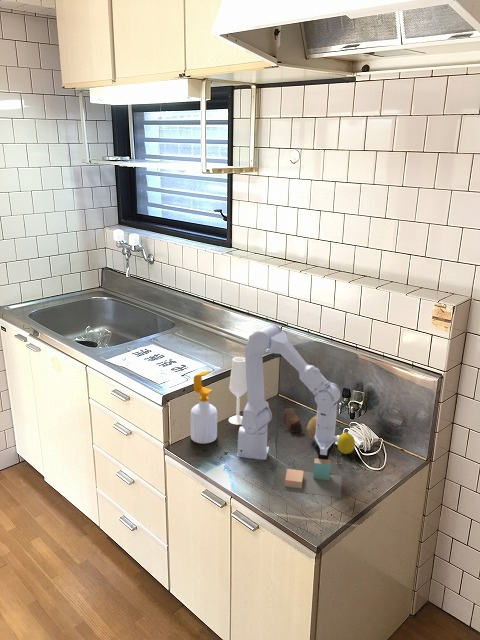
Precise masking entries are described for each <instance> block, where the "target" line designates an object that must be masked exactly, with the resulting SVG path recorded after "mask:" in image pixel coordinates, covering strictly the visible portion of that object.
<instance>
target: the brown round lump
mask: <svg viewBox="0 0 480 640" xmlns="http://www.w3.org/2000/svg"><path fill="white" fill-rule="evenodd" d="M316 420H317V414H316V415H314V416H312V418H310V420H308V423H307V426H306V432H307V435H309V436H310V438H311V439H312V441H314V442H315V433H316Z"/></svg>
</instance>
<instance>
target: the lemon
mask: <svg viewBox="0 0 480 640" xmlns="http://www.w3.org/2000/svg"><path fill="white" fill-rule="evenodd" d="M355 445H356V444H355V438H354V436H353V435H352V434H351V433H349V432H343V433H341V434H340V435H339V437H338V442H337V448H338V451H339V452H340V453H342V454H344V455H347V454H348V455H349V454H351V453H352V452H353V451H354V449H355Z"/></svg>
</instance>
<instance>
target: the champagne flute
mask: <svg viewBox="0 0 480 640" xmlns="http://www.w3.org/2000/svg"><path fill="white" fill-rule="evenodd" d="M228 388H229V391H230V392H231V393H232V394H233V395H234V396H235V397H236V405H235V406H236V407H235V408H236V409H235V412H236V413H235V415H233V416H230V417H229V418H228V422H229V423H230V424H233V425H242V418H243V415H240V412H241V411H240V405H241V397H242V396H243V395H245V394H246V393H247V381H246V365H245V357H243V356H235V357H233V358H232V361H231V369H230V379H229V386H228Z"/></svg>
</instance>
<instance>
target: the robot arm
mask: <svg viewBox="0 0 480 640" xmlns="http://www.w3.org/2000/svg"><path fill="white" fill-rule="evenodd" d="M266 351H268V353H269V354H277V355H280V356H282V357H283V358H284V359H285V360H286V361H287V362H288V363H289V364H290V365H291V366H292V367H293V368H294V369H295V370H296V371H297V372H298V374H299V376H298V378H299V380H300V381H301V382H302V383H303V385H305V386H306V387H307V388H308V390H309V391H310V393H312V394H313V395H314V401H315V404H316V405H317V407H316V415H317V420H316V433H315V441H314V448H315V450H316V453H317V459H326V460H329V457H330V455H331V454H332V451H333V450H334V448H335V447H334V446H335V445H334V444H335V442H337V443H338V439H339V437H338V436H336V435H335V434H336V426H337V425H336V423H337V415H338V414H337V413H338V409H337V408H338V401H339V400H340V399H341V396H342V393H341V392H342V391H341V389H340V387H339V386H338V384H336V383H335V382H330V380H328V379H326V377H325V376H324V375H323V374H322V373H321V370H320V369H319V368H318V367H316V366H315V365H314V364H313V365H311V364H308V363H307V362H306V360H304V358H303V357H302V355H300V353H299V352H298V351H297V349H296V348H295V347H294V346H293V344H292V343H291V342H290V340H289V339H288V335H287V333H286V332H285V331H284V330H282V327H280V326H279V324H276V323H270V324H268V325H266V326H265V327H263V328H261V329H260V330H256V331H254V332H253V333H252V334H250V335H249V336H248V341H247V343H246V345H245V347H244V358H245V365H246V381H247V391H246V393H247V395H246V398H247V403H246V405H245V406H244V409H243V415H242V417H243V418H242V424H241V425H240V426H239V429H238V432H237V433H238V434H237V455H236V456H237V457H240V458H241V457H242V458H247V459H254V460H255V459H256V460H263V461H265V460H267V457H268V454H269V450H270V447H269V446H267V445H268V426H269V422H271V420H272V419H273V414H272V411H271V409H270V406H269V404H270V403H269V402H268V401H266V400H265V398H266V397H265V380H264V379H265V378H264V363H263V361H264V359H263V354H264V353H265V352H266Z"/></svg>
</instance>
